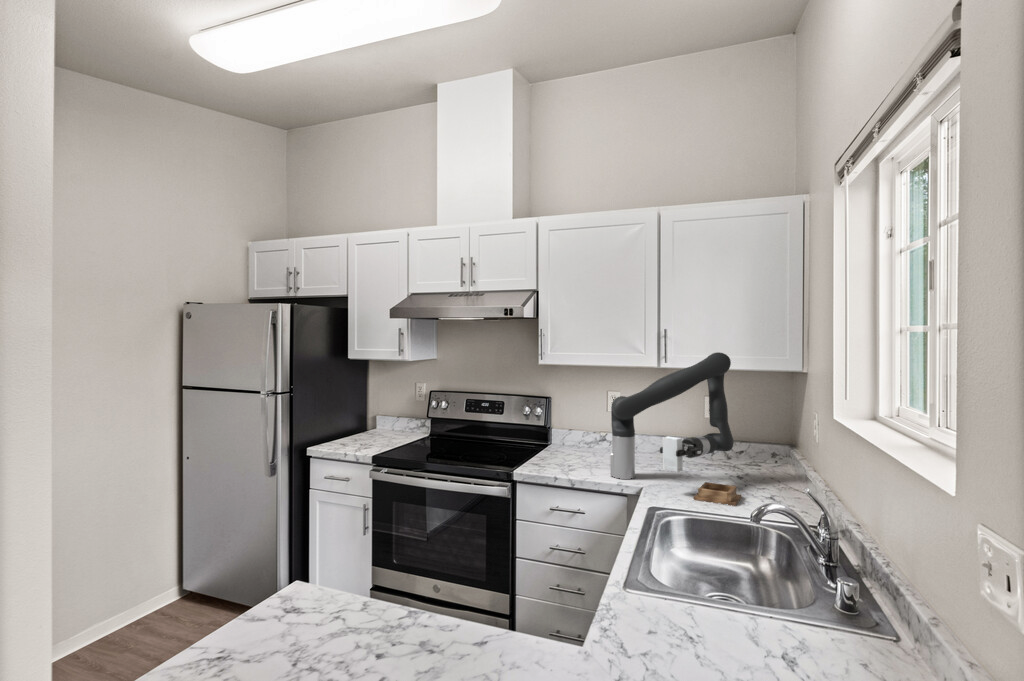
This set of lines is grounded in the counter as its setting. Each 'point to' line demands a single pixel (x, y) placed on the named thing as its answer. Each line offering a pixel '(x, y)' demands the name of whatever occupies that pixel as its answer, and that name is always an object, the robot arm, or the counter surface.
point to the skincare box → (672, 454)
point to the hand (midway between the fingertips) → (668, 452)
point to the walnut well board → (718, 494)
